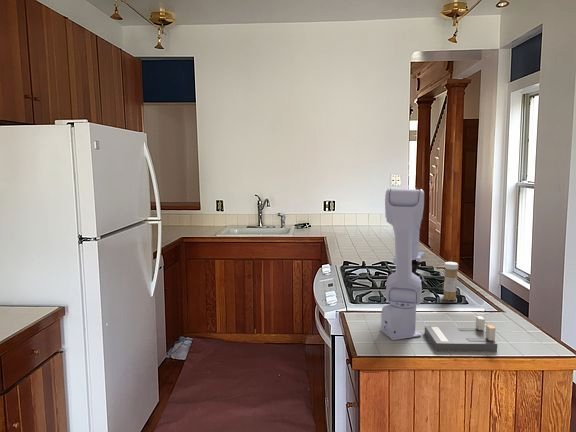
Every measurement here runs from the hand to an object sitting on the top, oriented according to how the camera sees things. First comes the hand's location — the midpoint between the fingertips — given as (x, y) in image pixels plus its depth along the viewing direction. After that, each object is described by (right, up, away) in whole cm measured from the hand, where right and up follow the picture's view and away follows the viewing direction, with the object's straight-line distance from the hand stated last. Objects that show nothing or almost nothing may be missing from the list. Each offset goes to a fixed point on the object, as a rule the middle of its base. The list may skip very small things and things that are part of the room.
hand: (408, 282), depth 146 cm
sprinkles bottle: (+19, -8, +15) cm, 26 cm away
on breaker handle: (+16, -10, -18) cm, 26 cm away
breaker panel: (+9, -14, -21) cm, 26 cm away
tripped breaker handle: (+15, -11, -25) cm, 31 cm away
